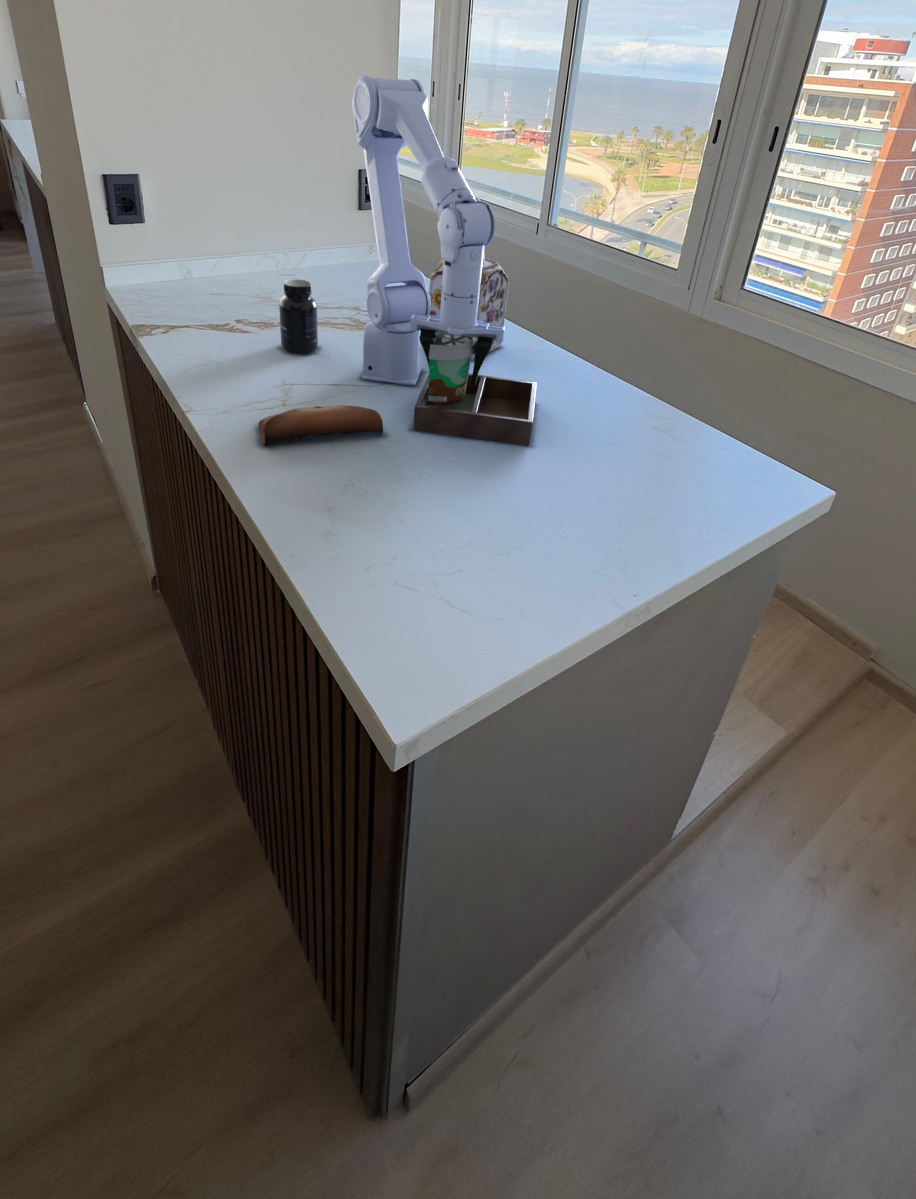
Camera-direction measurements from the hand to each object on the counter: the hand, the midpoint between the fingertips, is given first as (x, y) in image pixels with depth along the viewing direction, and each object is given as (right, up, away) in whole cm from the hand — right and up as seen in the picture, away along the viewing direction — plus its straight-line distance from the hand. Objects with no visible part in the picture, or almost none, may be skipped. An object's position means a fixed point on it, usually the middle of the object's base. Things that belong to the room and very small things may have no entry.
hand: (453, 380), depth 117 cm
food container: (0, -2, +2) cm, 3 cm away
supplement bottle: (-29, +12, +21) cm, 38 cm away
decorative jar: (+2, +16, +30) cm, 34 cm away
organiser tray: (+4, -5, +3) cm, 7 cm away
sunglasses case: (-20, -10, -6) cm, 23 cm away
